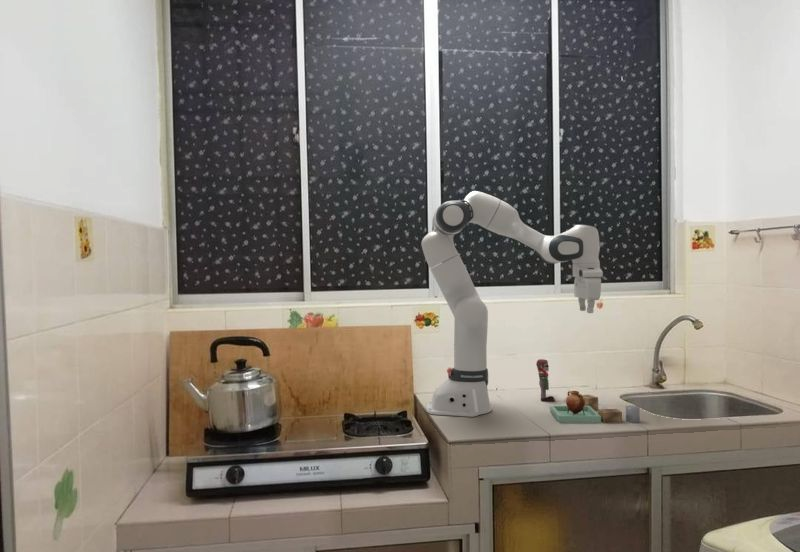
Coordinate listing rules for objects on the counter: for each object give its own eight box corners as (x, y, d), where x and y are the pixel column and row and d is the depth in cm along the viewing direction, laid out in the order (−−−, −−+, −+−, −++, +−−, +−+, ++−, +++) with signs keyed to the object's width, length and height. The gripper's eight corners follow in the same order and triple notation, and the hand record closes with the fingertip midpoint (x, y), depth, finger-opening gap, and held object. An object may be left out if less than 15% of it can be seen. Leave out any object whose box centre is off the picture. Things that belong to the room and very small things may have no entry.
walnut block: (603, 423, 169) (603, 412, 169) (598, 420, 173) (597, 409, 173) (622, 423, 169) (622, 412, 169) (616, 419, 173) (615, 408, 173)
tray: (558, 422, 170) (558, 416, 170) (550, 411, 183) (550, 405, 183) (601, 423, 169) (601, 416, 169) (589, 411, 182) (589, 405, 182)
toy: (556, 406, 189) (556, 363, 188) (537, 406, 190) (537, 363, 190) (552, 394, 206) (552, 355, 206) (535, 394, 207) (535, 355, 207)
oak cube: (587, 412, 182) (587, 398, 182) (578, 408, 186) (578, 395, 186) (598, 410, 184) (598, 397, 184) (588, 407, 188) (588, 394, 188)
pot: (584, 420, 172) (585, 412, 178) (584, 395, 171) (585, 389, 177) (565, 418, 174) (566, 411, 180) (564, 394, 173) (566, 388, 179)
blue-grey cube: (628, 423, 169) (628, 408, 168) (624, 419, 173) (624, 405, 172) (641, 423, 168) (641, 408, 168) (637, 419, 172) (637, 405, 172)
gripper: (569, 271, 197) (569, 309, 197) (584, 272, 176) (584, 314, 177) (587, 271, 196) (587, 309, 197) (604, 271, 176) (604, 314, 176)
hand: (586, 311), depth 186 cm, fingers open, 8 cm apart
